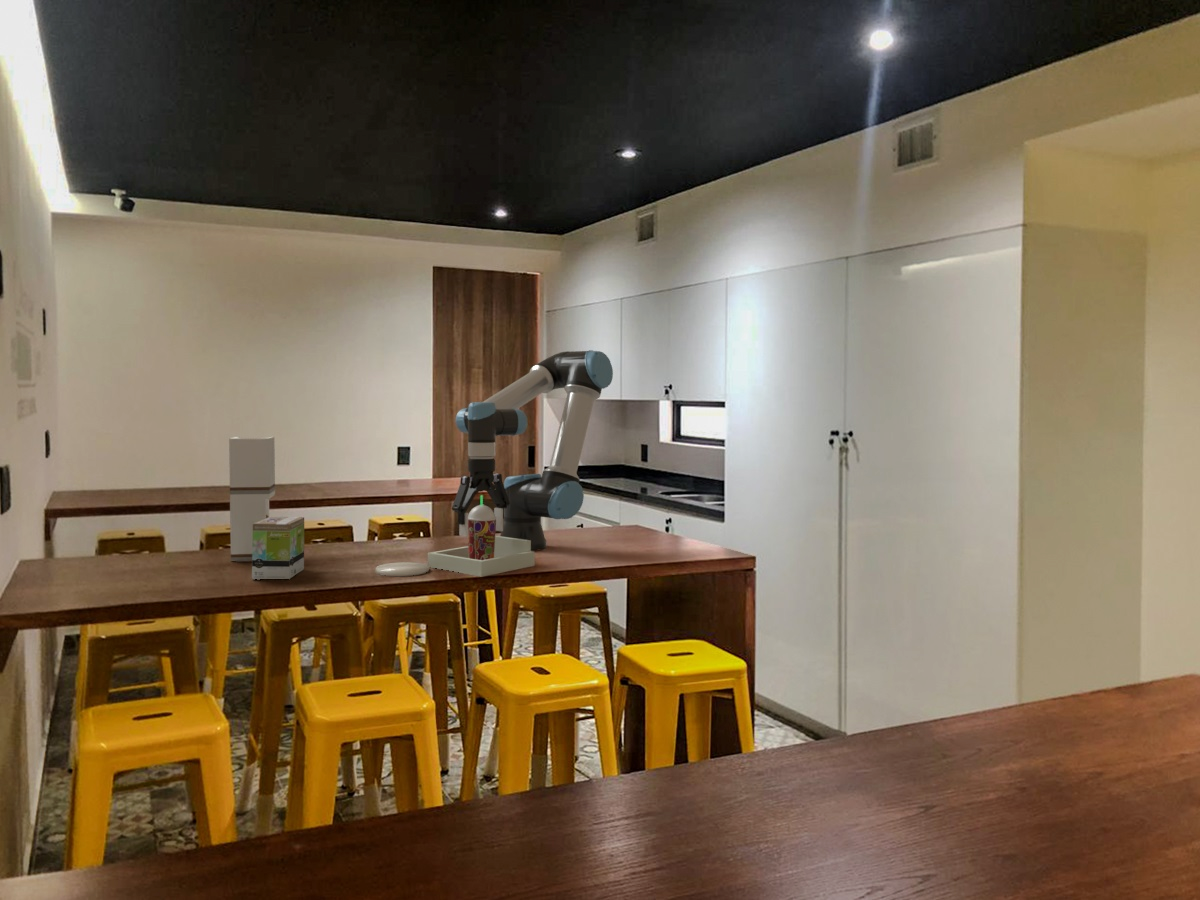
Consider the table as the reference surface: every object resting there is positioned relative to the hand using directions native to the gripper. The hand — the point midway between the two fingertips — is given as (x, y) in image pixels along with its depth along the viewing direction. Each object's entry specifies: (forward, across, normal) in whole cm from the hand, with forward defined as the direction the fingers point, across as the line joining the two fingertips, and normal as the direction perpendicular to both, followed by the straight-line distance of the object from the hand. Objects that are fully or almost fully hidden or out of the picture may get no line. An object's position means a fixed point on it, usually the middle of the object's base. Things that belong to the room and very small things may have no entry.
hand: (481, 533), depth 258 cm
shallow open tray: (+9, 0, 0) cm, 9 cm away
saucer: (+9, +19, -11) cm, 24 cm away
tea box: (+10, +43, -32) cm, 54 cm away
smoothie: (+9, 0, 0) cm, 9 cm away
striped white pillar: (+10, +33, -60) cm, 69 cm away
